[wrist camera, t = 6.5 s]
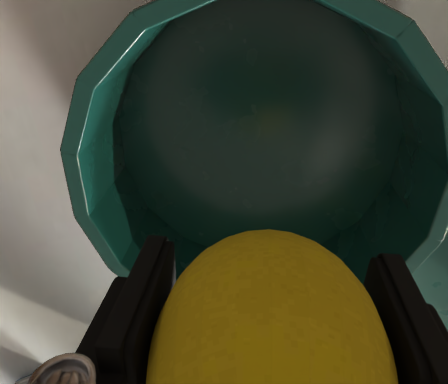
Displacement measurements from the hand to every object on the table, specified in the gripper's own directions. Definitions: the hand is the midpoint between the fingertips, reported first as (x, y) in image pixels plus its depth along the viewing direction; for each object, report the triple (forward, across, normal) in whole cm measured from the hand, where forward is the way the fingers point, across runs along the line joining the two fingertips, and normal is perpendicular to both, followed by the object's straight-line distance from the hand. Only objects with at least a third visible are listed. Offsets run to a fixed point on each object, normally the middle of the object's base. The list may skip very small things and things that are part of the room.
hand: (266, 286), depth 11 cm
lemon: (+2, 0, 0) cm, 2 cm away
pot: (+10, +1, -1) cm, 10 cm away
